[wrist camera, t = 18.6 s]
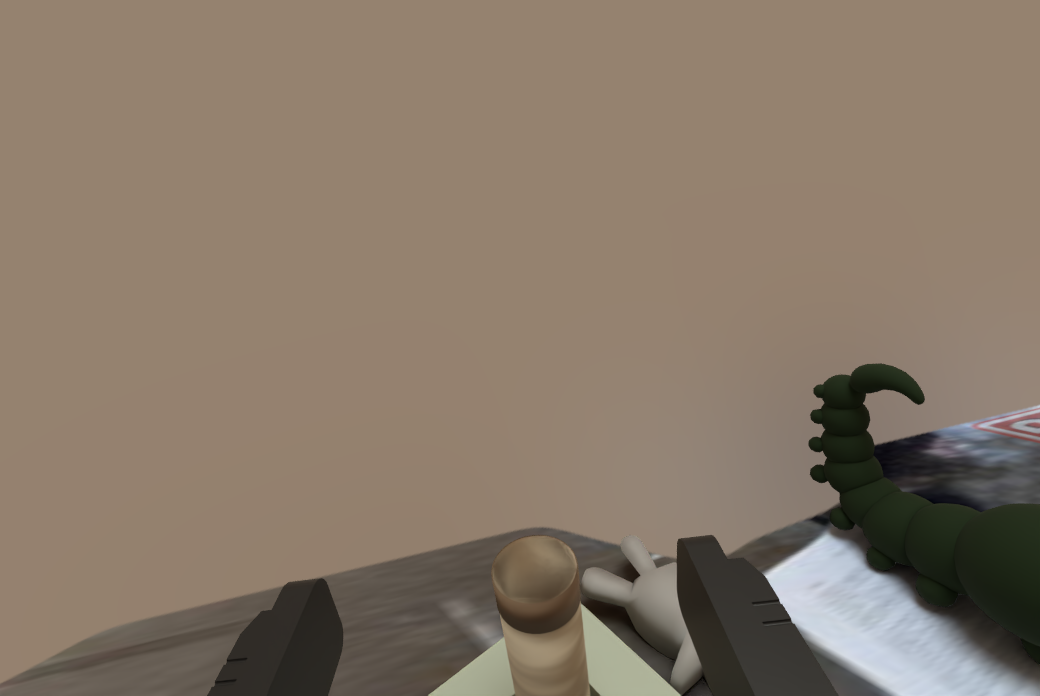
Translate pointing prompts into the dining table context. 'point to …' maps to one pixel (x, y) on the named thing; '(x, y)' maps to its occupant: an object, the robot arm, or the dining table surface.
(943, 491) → the dining table surface
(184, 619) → the dining table surface
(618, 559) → the dining table surface
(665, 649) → the bunny figurine
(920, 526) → the toy figurine
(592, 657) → the socket block
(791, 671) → the robot arm
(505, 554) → the peg
